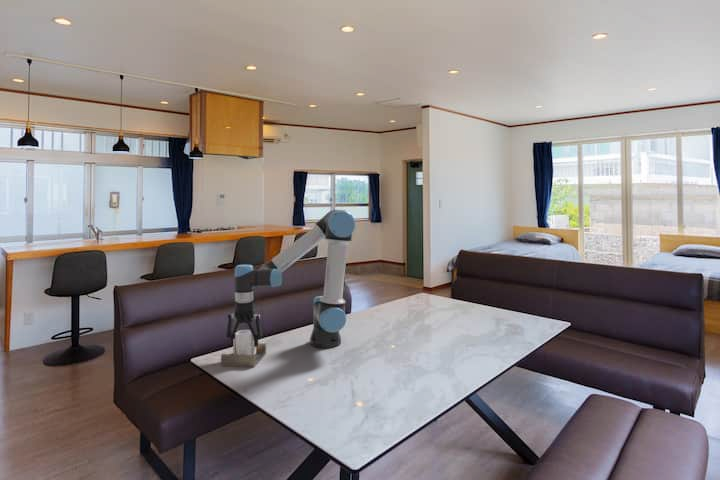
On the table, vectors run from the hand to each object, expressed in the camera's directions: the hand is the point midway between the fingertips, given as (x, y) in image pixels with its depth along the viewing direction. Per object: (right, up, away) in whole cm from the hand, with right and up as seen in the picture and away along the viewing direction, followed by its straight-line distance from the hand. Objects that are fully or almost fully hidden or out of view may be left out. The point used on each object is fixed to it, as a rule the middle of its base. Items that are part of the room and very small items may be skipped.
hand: (244, 353), depth 175 cm
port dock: (0, -3, 0) cm, 3 cm away
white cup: (0, -1, 0) cm, 1 cm away
